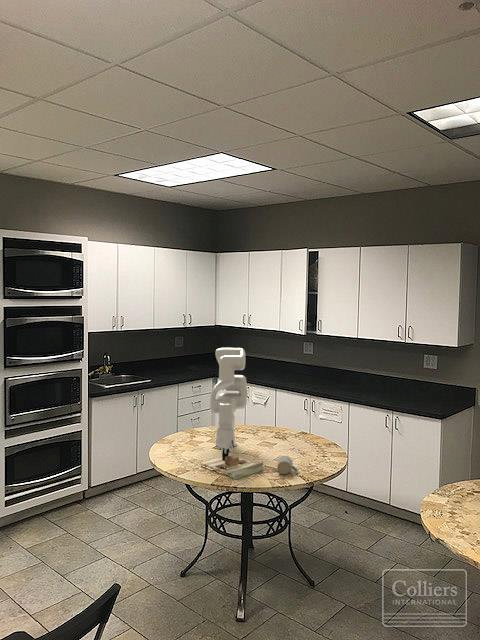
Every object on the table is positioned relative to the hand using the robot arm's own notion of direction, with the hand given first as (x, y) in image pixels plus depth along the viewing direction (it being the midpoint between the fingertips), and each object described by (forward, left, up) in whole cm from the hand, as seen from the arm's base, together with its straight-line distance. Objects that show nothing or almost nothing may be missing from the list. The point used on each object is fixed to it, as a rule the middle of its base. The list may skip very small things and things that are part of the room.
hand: (225, 460), depth 281 cm
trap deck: (+5, 0, -3) cm, 6 cm away
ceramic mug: (+29, +16, -4) cm, 33 cm away
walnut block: (+5, 0, -1) cm, 5 cm away
